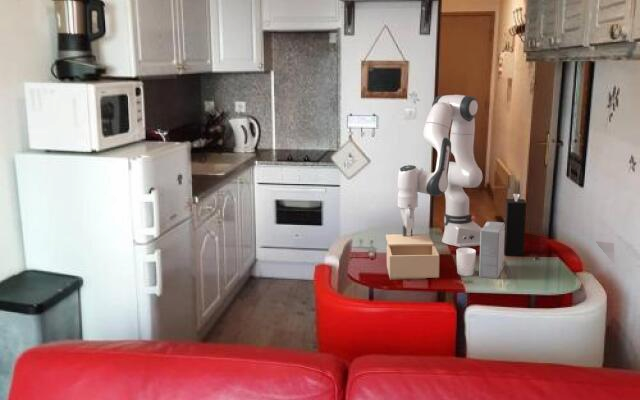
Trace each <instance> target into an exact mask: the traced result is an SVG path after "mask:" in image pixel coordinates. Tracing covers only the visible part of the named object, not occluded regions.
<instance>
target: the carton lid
mask: <svg viewBox="0 0 640 400" xmlns="http://www.w3.org/2000/svg"><path fill="white" fill-rule="evenodd" d="M406 231H407V230H406V227H405V226H404V225H402V233H401V234H399V233H398V234H393V233H392V234H385V238H386V242H387V245H388V246H433V244H434V242H433V240H432V239H431V237H430V235H429V233H413V228H411V235H410V236H407V234H406Z"/></svg>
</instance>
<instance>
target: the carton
mask: <svg viewBox="0 0 640 400" xmlns="http://www.w3.org/2000/svg"><path fill="white" fill-rule="evenodd" d="M386 270H387V273H388V277H389V280H390V281H391V280H427V279H426V278H439V279H440V254H439V251H438V250H437V247H436V246H435V244H434V243H433V246H388V244H386Z"/></svg>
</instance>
